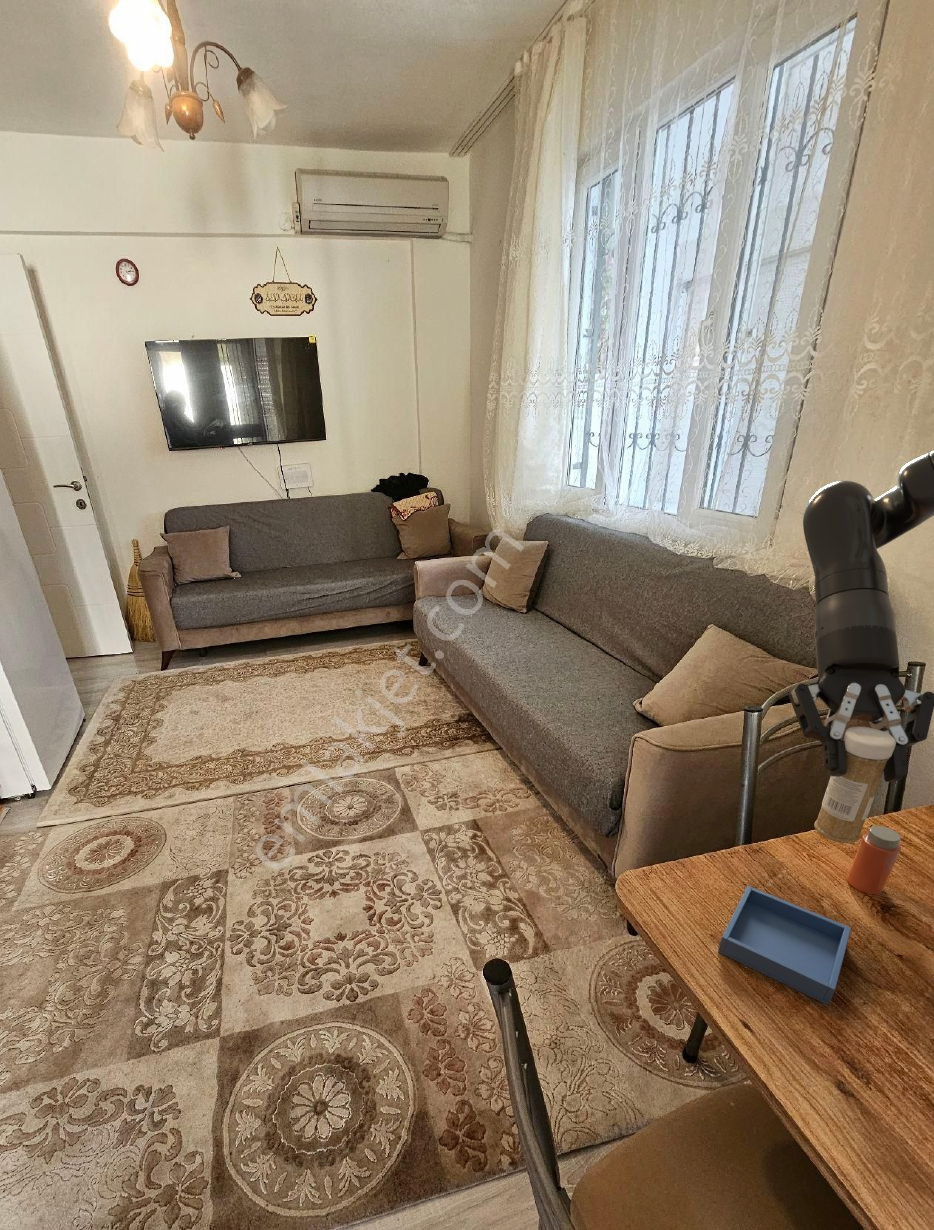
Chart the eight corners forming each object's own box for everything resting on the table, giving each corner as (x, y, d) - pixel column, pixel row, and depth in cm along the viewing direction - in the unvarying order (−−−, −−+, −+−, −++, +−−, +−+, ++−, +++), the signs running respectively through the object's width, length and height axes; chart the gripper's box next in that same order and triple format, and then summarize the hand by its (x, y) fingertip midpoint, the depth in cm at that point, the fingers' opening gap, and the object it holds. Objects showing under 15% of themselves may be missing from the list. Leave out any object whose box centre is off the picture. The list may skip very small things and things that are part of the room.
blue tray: (845, 942, 70) (851, 927, 69) (828, 1006, 63) (835, 990, 62) (743, 899, 77) (747, 885, 76) (717, 952, 70) (721, 936, 69)
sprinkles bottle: (868, 841, 67) (908, 741, 61) (836, 848, 67) (873, 747, 61) (834, 818, 71) (868, 722, 66) (803, 824, 71) (834, 728, 65)
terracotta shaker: (884, 882, 79) (906, 831, 75) (881, 899, 76) (903, 847, 72) (849, 869, 81) (868, 820, 77) (844, 885, 79) (864, 834, 75)
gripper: (799, 620, 67) (806, 763, 62) (947, 625, 63) (968, 777, 58) (774, 647, 74) (779, 778, 69) (907, 653, 70) (922, 792, 65)
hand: (866, 777), depth 63 cm, fingers closed on sprinkles bottle, 4 cm apart
